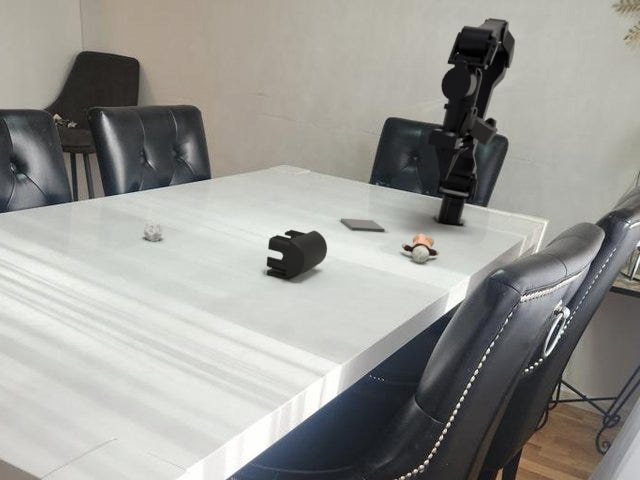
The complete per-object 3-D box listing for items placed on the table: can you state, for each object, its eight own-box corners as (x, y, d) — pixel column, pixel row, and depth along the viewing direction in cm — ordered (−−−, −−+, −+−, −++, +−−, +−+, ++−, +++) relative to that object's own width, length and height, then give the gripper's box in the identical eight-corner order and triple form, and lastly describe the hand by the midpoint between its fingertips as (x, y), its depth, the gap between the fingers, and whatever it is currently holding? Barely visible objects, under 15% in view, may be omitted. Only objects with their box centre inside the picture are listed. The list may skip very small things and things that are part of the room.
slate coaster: (340, 220, 153) (341, 218, 153) (372, 222, 155) (372, 220, 155) (351, 230, 147) (352, 227, 146) (384, 231, 149) (384, 229, 148)
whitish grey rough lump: (139, 238, 122) (139, 221, 120) (155, 236, 124) (155, 219, 123) (151, 243, 120) (151, 226, 119) (166, 240, 123) (167, 224, 121)
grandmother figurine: (439, 233, 137) (441, 244, 126) (437, 252, 139) (439, 265, 128) (402, 233, 138) (401, 244, 127) (401, 251, 140) (400, 264, 129)
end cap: (300, 285, 110) (306, 244, 106) (264, 275, 112) (268, 235, 108) (324, 272, 117) (330, 234, 114) (289, 263, 120) (294, 225, 116)
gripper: (489, 106, 126) (467, 192, 134) (509, 105, 140) (488, 183, 148) (434, 97, 129) (416, 181, 138) (460, 97, 143) (442, 173, 152)
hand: (443, 180), depth 144 cm, fingers closed
